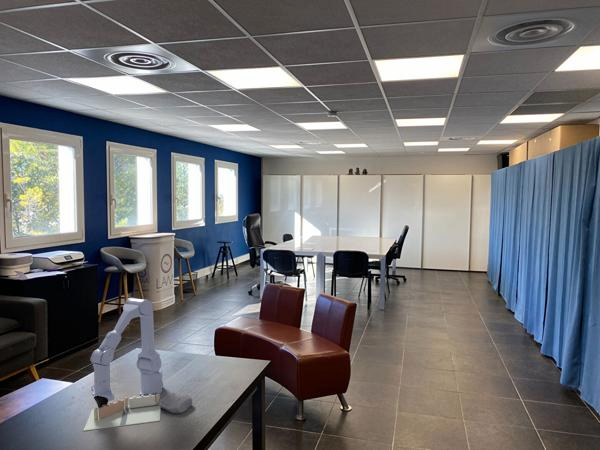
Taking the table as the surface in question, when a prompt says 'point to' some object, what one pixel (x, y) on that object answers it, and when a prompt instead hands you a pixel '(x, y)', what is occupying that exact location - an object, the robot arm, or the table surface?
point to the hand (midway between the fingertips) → (102, 412)
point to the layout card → (125, 417)
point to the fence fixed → (142, 401)
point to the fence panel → (108, 409)
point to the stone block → (176, 403)
